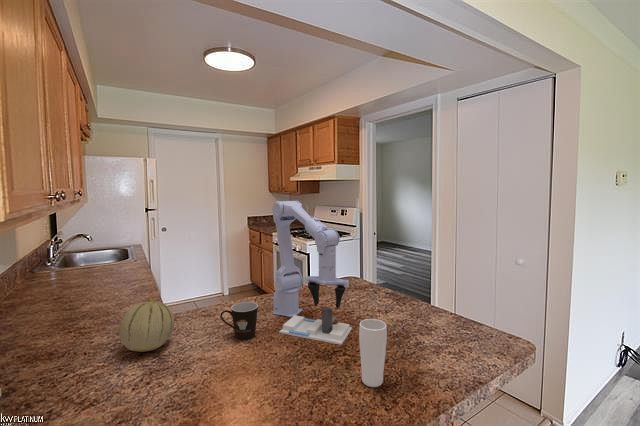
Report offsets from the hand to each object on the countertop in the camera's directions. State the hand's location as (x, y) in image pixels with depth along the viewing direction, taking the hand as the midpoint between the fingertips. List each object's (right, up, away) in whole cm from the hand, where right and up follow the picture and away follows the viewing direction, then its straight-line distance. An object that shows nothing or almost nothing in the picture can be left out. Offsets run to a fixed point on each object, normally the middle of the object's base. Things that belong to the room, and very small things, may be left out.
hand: (327, 305), depth 105 cm
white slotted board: (-4, -9, +2) cm, 10 cm away
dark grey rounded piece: (+1, -9, +4) cm, 9 cm away
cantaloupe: (-55, -11, -10) cm, 57 cm away
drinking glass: (+11, -12, -26) cm, 31 cm away
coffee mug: (-29, -10, -1) cm, 30 cm away
